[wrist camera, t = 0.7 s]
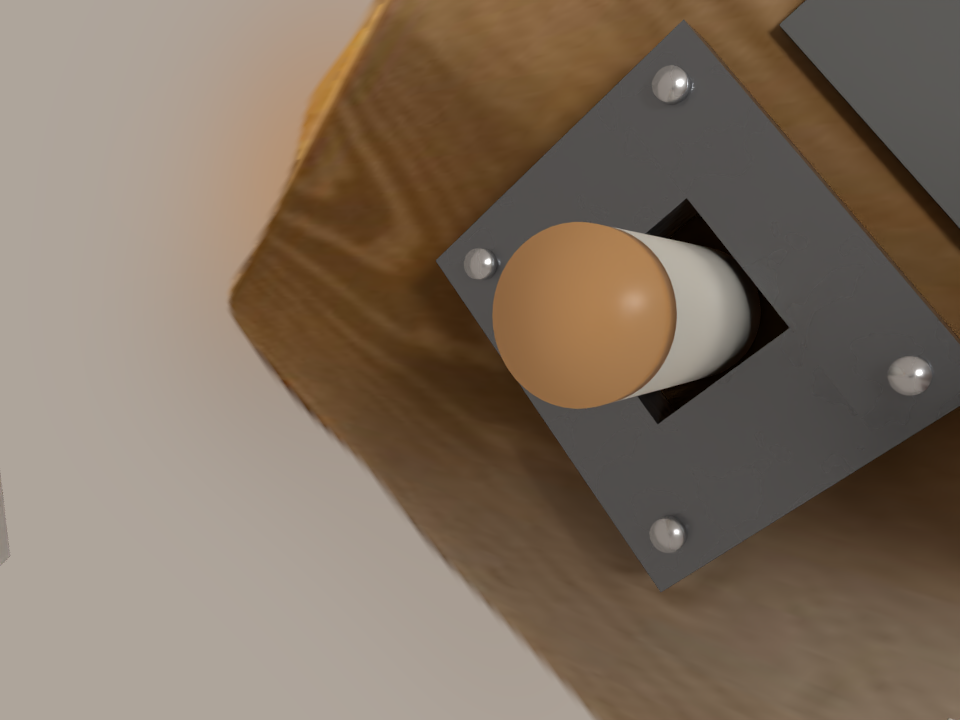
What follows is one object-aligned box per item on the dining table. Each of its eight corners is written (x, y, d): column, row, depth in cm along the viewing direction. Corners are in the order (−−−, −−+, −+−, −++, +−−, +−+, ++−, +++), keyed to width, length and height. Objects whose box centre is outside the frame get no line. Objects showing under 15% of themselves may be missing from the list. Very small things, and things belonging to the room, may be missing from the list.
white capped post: (705, 218, 38) (589, 182, 27) (789, 324, 37) (704, 333, 25) (605, 301, 41) (461, 300, 29) (680, 404, 39) (559, 444, 28)
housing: (704, 39, 38) (679, 15, 35) (992, 378, 33) (994, 386, 30) (467, 263, 44) (428, 259, 41) (682, 573, 39) (656, 596, 36)
